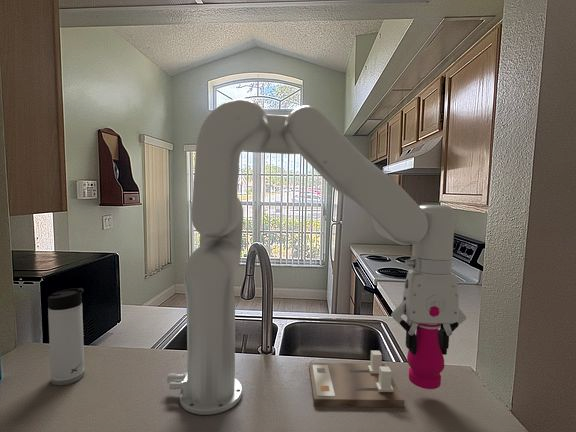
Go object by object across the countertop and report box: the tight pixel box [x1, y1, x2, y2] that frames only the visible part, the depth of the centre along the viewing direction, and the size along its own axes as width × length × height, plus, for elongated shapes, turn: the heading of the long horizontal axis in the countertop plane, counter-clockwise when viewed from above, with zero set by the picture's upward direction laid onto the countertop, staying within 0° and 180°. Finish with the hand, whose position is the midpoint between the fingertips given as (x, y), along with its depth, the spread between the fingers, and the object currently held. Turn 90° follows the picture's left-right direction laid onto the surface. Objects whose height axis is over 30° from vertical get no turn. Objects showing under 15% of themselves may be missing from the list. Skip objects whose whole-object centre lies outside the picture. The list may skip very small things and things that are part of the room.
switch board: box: [308, 362, 405, 408], centre depth 75 cm, size 18×14×2 cm
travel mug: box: [47, 287, 85, 386], centre depth 75 cm, size 6×7×20 cm
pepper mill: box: [406, 306, 445, 390], centre depth 71 cm, size 7×7×20 cm
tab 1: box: [368, 350, 383, 374], centre depth 78 cm, size 3×2×4 cm
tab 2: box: [376, 365, 393, 392], centre depth 71 cm, size 3×2×4 cm
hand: (426, 350), depth 71 cm, fingers closed on pepper mill, 5 cm apart
